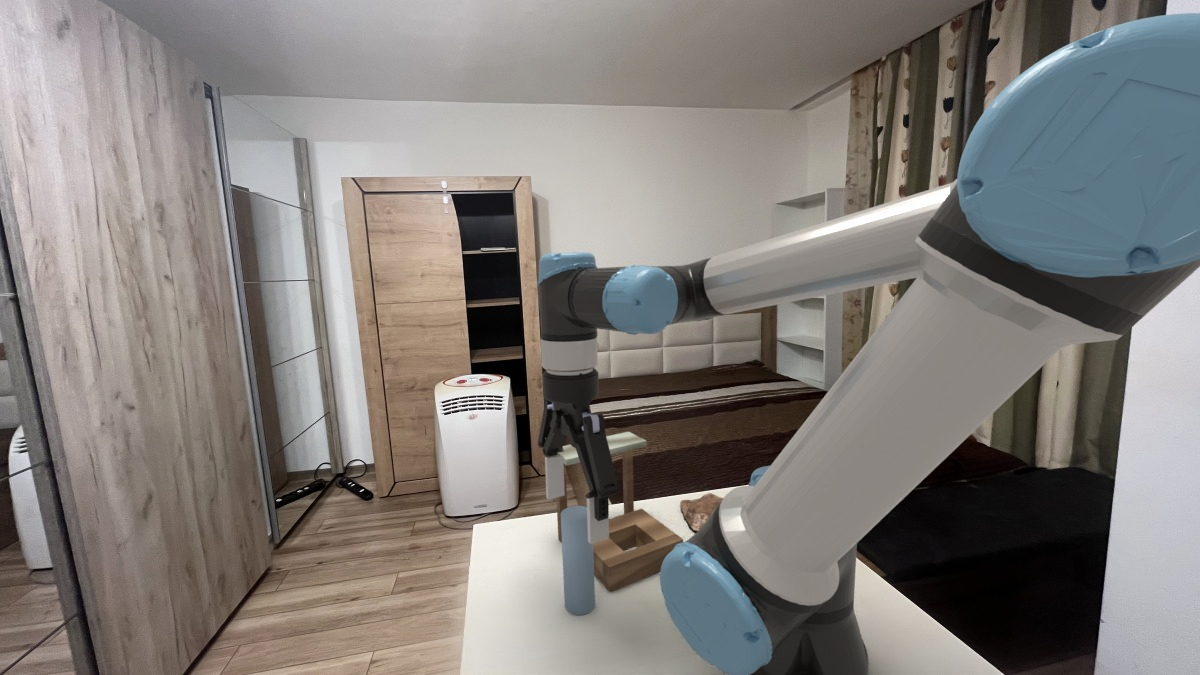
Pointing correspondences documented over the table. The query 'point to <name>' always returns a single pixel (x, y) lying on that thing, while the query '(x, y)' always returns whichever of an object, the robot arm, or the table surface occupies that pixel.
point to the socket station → (625, 526)
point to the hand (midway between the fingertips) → (575, 516)
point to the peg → (577, 561)
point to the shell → (699, 510)
